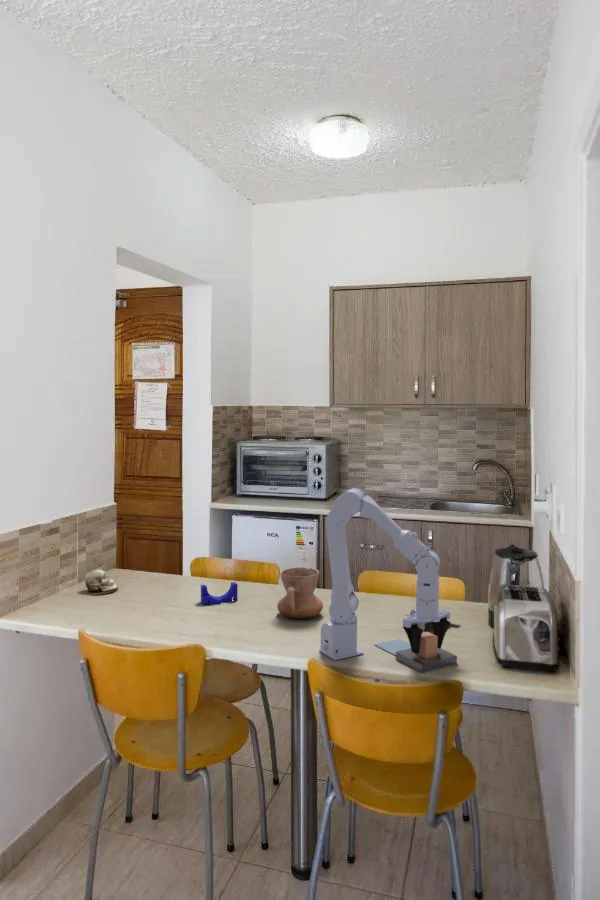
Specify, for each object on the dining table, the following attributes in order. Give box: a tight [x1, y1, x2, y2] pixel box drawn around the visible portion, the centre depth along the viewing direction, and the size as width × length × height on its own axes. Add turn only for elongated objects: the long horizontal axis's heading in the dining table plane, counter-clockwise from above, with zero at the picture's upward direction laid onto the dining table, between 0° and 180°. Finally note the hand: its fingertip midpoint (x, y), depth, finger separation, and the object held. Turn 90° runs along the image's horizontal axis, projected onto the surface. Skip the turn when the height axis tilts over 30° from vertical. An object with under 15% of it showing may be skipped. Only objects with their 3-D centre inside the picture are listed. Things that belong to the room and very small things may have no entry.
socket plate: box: [395, 647, 458, 674], centre depth 170 cm, size 12×10×2 cm
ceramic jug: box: [276, 566, 324, 620], centre depth 207 cm, size 18×14×14 cm
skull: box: [85, 569, 119, 596], centre depth 234 cm, size 12×10×10 cm
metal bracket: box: [403, 609, 462, 633], centre depth 199 cm, size 14×6×15 cm
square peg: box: [415, 631, 438, 659], centre depth 170 cm, size 4×4×7 cm
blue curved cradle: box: [200, 581, 238, 606], centre depth 221 cm, size 12×4×6 cm, turn 110°
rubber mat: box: [374, 638, 411, 657], centre depth 180 cm, size 9×9×1 cm
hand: (426, 649), depth 170 cm, fingers open, 7 cm apart
